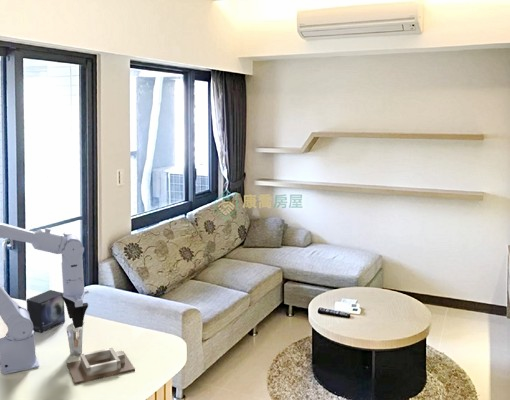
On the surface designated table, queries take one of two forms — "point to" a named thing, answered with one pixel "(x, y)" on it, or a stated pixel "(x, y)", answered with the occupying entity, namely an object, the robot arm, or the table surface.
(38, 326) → the small box
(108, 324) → the table surface
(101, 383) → the table surface
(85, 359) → the pocket plate
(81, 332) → the milkshake
